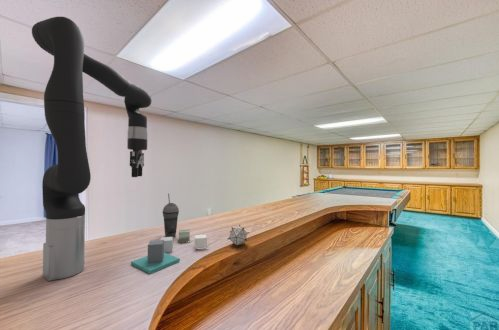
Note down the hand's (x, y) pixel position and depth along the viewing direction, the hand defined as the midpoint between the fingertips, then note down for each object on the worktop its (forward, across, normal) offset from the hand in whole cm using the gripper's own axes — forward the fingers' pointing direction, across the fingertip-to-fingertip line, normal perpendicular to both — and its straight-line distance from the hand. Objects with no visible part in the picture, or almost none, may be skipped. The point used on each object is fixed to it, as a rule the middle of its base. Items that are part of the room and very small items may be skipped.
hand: (137, 176), depth 94 cm
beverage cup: (+28, +6, -13) cm, 32 cm away
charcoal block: (+27, -22, -11) cm, 37 cm away
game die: (+28, -12, -42) cm, 52 cm away
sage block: (+28, -1, -20) cm, 34 cm away
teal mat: (+28, -22, -11) cm, 37 cm away
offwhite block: (+28, -11, -26) cm, 40 cm away
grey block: (+28, -11, -13) cm, 33 cm away
